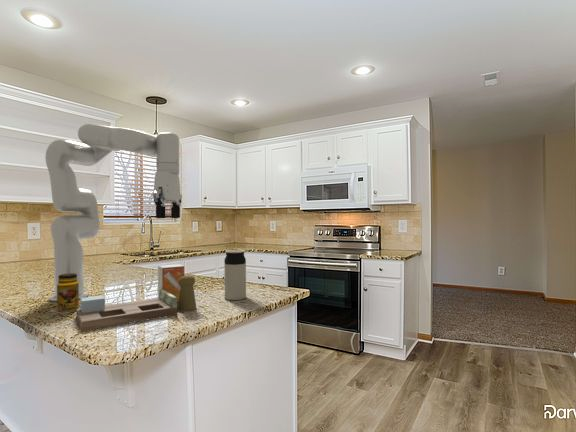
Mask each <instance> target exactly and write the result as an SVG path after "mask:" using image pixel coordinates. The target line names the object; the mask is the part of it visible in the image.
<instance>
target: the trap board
mask: <svg viewBox="0 0 576 432" xmlns="http://www.w3.org/2000/svg"><path fill="white" fill-rule="evenodd" d="M177 315H178V302H177V297H175V296H174V295H172V294H170V293H169V292H167V291H165V290H163V289H159V298H158V297H155V298H148V299H142V300H141V299H140V300H135V301H127V302H126V301H125V302H119V303H113V304H105V310H100V311H93V312H86V313H82V311H81V309H77V311H76V319H77V322H78V324H79V327H80V330H81V332H84V331H90V330H96V329H101V328H108V327H113V326H119V324H120V325H124V324H123V323H126V324H130V323H129V322H132V323H135V322H134V321H138V322H142V320H144V321H148V320H147V319H149V320H154V319H153V318H155V319H160V318H159V317H161V318H165V316H167V317H172V316H177Z"/></svg>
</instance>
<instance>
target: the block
mask: <svg viewBox="0 0 576 432" xmlns="http://www.w3.org/2000/svg"><path fill="white" fill-rule="evenodd" d="M105 299H106V298H105V296H103V295H96V296H93V295H92V296H87V297H85V298H81V299H80V307H81V311H82V313H86V312H93V311H100V310H105V305H106V303H105V301H106V300H105Z"/></svg>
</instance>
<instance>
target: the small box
mask: <svg viewBox="0 0 576 432" xmlns="http://www.w3.org/2000/svg"><path fill="white" fill-rule="evenodd" d="M183 276H185V265H183V264H180V263H179V264H165V265H158V266H157V298H159V289H163V290H165V291H167V292H169V293H170V294H172V295H174V296H175V297H177V303H179V295H180V287H181V286H180V285H179V279H180V278H181V277H183Z"/></svg>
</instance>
